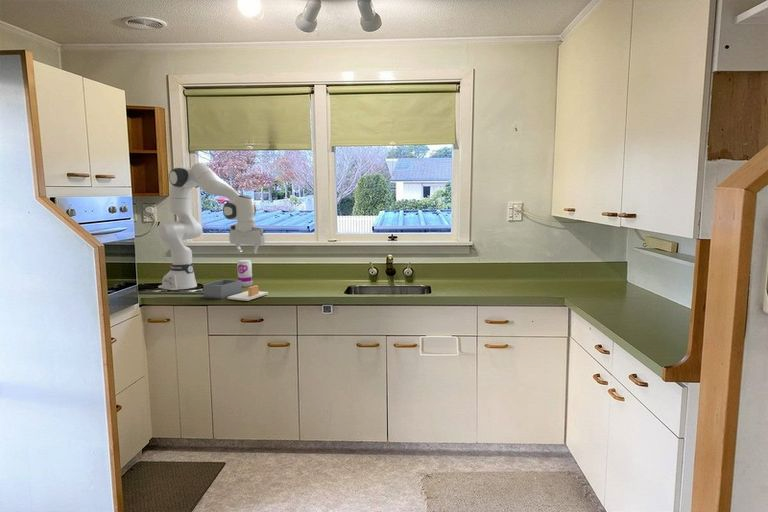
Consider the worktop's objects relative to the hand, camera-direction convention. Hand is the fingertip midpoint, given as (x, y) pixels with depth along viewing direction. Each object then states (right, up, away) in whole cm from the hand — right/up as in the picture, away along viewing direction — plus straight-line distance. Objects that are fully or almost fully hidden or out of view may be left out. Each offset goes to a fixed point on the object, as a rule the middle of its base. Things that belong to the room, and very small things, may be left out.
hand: (247, 253), depth 260 cm
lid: (0, -23, +2) cm, 23 cm away
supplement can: (-11, -19, +35) cm, 41 cm away
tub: (-16, -23, +9) cm, 29 cm away
